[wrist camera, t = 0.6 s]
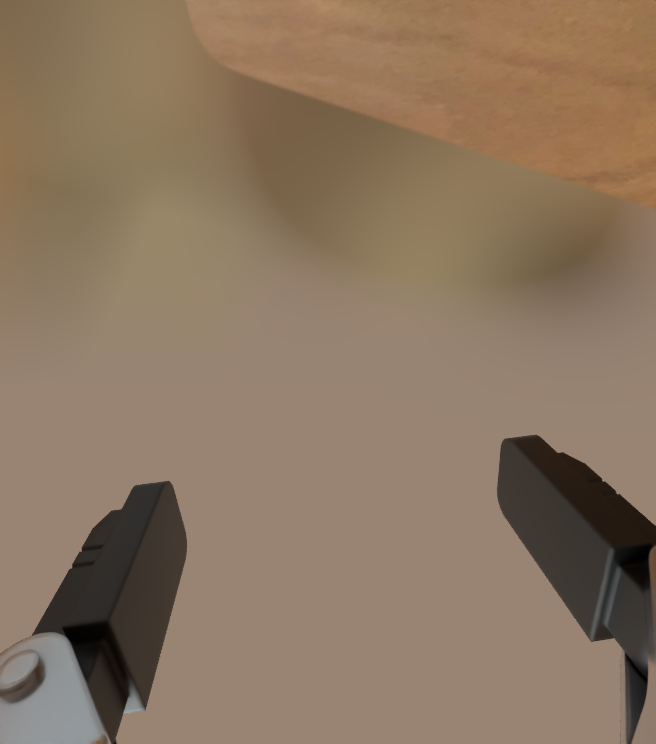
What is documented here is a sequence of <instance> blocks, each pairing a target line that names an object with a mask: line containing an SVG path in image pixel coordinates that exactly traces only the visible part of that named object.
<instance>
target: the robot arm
mask: <svg viewBox="0 0 656 744" xmlns="http://www.w3.org/2000/svg"><path fill="white" fill-rule="evenodd" d="M497 495H498V502H499V505H500V508H501V511H502V513H503V515H504V516H505V518H506V519H507V521H508V522H509V524H510V525H511V527H512V528H513V530H514V531H515V532H516V534H517V535H518V537H519V538H520V540H521V541H522V543H523V544H524V545H525V547H526V548H527V550H528V551H529V553H530V554H531V555H532V557H533V558H534V560H535V561H536V563H537V564H538V566H539V567H540V568H541V570H542V571H543V573H544V574H545V576H546V577H547V578H548V580H549V582H550V583H551V584H552V586H553V587H554V589H555V590H556V592H557V593H558V595H559V596H560V597H561V598H562V600H563V602H564V603H565V605H566V606H567V608H568V609H569V610H570V612H571V613H572V615H573V616H574V618H575V619H576V620H577V622H578V623H579V625H580V626H581V628H582V629H583V631H584V632H585V633H586V635H587V636H588V638H589V639H590V641H591V642H593V641H599V640H606V639H611V638H615V639H616V641H617V642H618V643H619V645H620V646H621V647H622V649H623V650H622V654H621V658H620V744H656V526H655V525H654V524H652V523H651V522H650V521H649V520H648V519H647V518H646V517H645V516H644V515H642V514H641V513H640V512H639V511H638V510H637V509H636V508H635V507H633V506H632V505H631V504H630V503H629V502H628V501H627V500H625V499H624V498H623V497H622V496H621V495H620V494H616V491H615V490H614V489H613V488H612V487H611V486H610V485H608V484H607V483H606V482H603V481H602V478H601V477H599V476H598V475H597V474H596V473H595V472H594V471H593V470H592V469H590V468H589V467H588V466H587V465H586V464H585V463H583V462H581V461H578V460H576V459H575V458H573V457H571V456H569V455H567V454H565V453H557V452H556V451H555V450H554V449H553V448H551V446H549V445H548V444H547V443H546V442H545V441H544V440H543V439H542V438H541V437H539V436H537V435H530V436H523V437H515V438H508V439H504V440H503V442H502V445H501V451H500V463H499V476H498V486H497ZM186 552H187V539H186V532H185V528H184V524H183V521H182V517H181V513H180V510H179V506H178V503H177V499H176V495H175V492H174V488H173V486H172V484H171V482H169V481H165V482H158V483H149V484H142V485H136V486H134V487H133V489H132V490H131V492H130V494H129V496H128V498H127V500H126V502H125V504H124V506H123V508H122V509H121V510H114V511H111V512H110V513H109V514H108V515H107V516H105V518H103V519H102V520H101V521H100V522H99V523H98V524H97V525H96V526H95V527H94V528H93V529H92V531H91V533H90V534H89V536H88V538H87V540H86V541H85V543H84V545H83V547H82V552H79V554H78V555H77V557H76V559H75V561H74V563H73V564H72V569H69V571H68V573H67V575H66V577H65V578H64V580H63V582H62V583H61V585H60V587H59V589H58V591H57V592H56V594H55V596H54V597H53V599H52V601H51V603H50V605H49V606H48V608H47V610H46V612H45V613H44V615H43V617H42V619H41V620H40V622H39V624H38V626H37V627H36V629H35V631H34V633H33V634H32V636H30V637H28V638H25V639H23V640H21V641H19V642H17V643H15V644H14V645H12V646H10V647H9V648H8V649H6V650H5V651H3V652H2V653H1V654H0V744H118V742H117V740H116V736H117V732H118V729H119V726H120V723H121V719H122V716H123V714H126V713H133V712H139V711H145V710H146V706H147V702H148V699H149V694H150V691H151V687H152V683H153V680H154V676H155V672H156V669H157V664H158V661H159V657H160V654H161V650H162V646H163V642H164V638H165V635H166V631H167V627H168V623H169V620H170V616H171V612H172V608H173V604H174V601H175V597H176V593H177V590H178V585H179V582H180V578H181V575H182V571H183V567H184V563H185V559H186Z"/></svg>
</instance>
